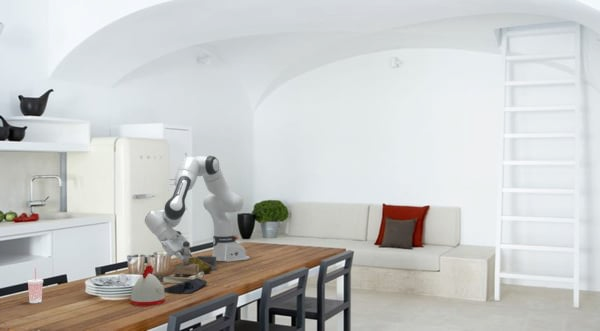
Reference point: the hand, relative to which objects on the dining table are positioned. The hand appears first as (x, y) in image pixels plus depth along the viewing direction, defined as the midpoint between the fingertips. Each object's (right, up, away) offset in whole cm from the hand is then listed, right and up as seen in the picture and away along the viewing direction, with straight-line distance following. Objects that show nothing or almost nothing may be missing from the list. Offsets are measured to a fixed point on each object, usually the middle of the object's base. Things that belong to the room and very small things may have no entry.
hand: (187, 258), depth 306 cm
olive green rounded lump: (+3, -10, +16) cm, 20 cm away
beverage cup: (-54, -11, -49) cm, 74 cm away
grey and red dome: (-8, -11, -49) cm, 51 cm away
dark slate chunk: (+4, -11, -23) cm, 26 cm away
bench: (+1, -10, +8) cm, 13 cm away
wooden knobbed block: (0, -10, +1) cm, 10 cm away
